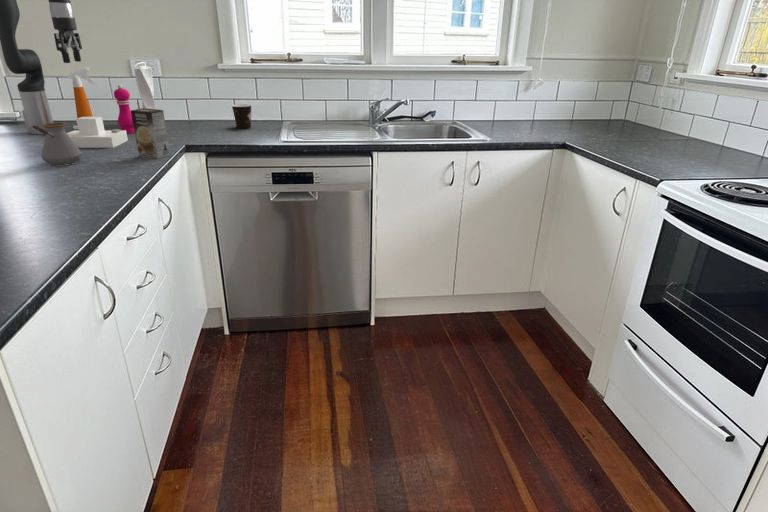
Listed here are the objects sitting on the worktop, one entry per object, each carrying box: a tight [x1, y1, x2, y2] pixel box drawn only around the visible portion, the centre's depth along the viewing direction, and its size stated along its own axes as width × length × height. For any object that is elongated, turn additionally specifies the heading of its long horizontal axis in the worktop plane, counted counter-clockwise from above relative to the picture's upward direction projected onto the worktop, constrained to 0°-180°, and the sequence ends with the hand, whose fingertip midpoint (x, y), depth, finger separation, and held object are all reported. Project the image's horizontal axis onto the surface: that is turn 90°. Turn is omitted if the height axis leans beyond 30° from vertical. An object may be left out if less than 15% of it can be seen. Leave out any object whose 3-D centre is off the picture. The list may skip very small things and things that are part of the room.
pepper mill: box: [113, 84, 135, 135], centre depth 212 cm, size 7×7×20 cm
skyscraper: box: [133, 61, 158, 110], centre depth 228 cm, size 8×8×28 cm
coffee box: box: [130, 107, 171, 160], centre depth 174 cm, size 9×6×16 cm
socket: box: [66, 128, 129, 149], centre depth 193 cm, size 20×14×5 cm
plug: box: [72, 116, 106, 135], centre depth 191 cm, size 10×6×8 cm, turn 94°
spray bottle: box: [66, 67, 98, 119], centre depth 211 cm, size 7×11×26 cm, turn 124°
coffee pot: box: [30, 122, 82, 166], centre depth 158 cm, size 21×12×15 cm, turn 13°
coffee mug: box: [231, 103, 252, 130], centre depth 228 cm, size 12×9×10 cm
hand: (72, 62), depth 194 cm, fingers open, 8 cm apart
